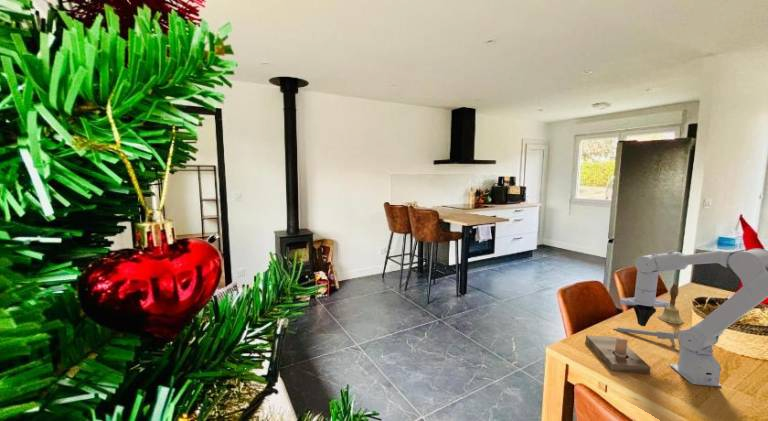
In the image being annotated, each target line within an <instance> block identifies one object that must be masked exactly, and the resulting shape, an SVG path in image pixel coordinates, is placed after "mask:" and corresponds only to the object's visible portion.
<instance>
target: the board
mask: <svg viewBox="0 0 768 421" xmlns="http://www.w3.org/2000/svg"><path fill="white" fill-rule="evenodd" d="M616 337H617V336H606V335H605V336H603V335H592V334H586V335H585V342H586V343H587V345H588V346H590V348H591V349H592V350H593V351H594V353H596V355H597V356H598V357H599V358H600V360H601V361H603V363H604V364H605V365H606V367H608V368H609V370H610V371H611V372H621V373H629V372H633V373H632V374H640V373H641V374H643V375H650V374H651V366H650V364H648V363H647V362H646V361H645V360H643V359H642V357H640V356H639V355H638V353H636V352H635V351H634V350H632V349H631V347H629V346H628V345H627V350H626V357H625V358H619V357H617V356H615V346H616Z"/></svg>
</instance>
